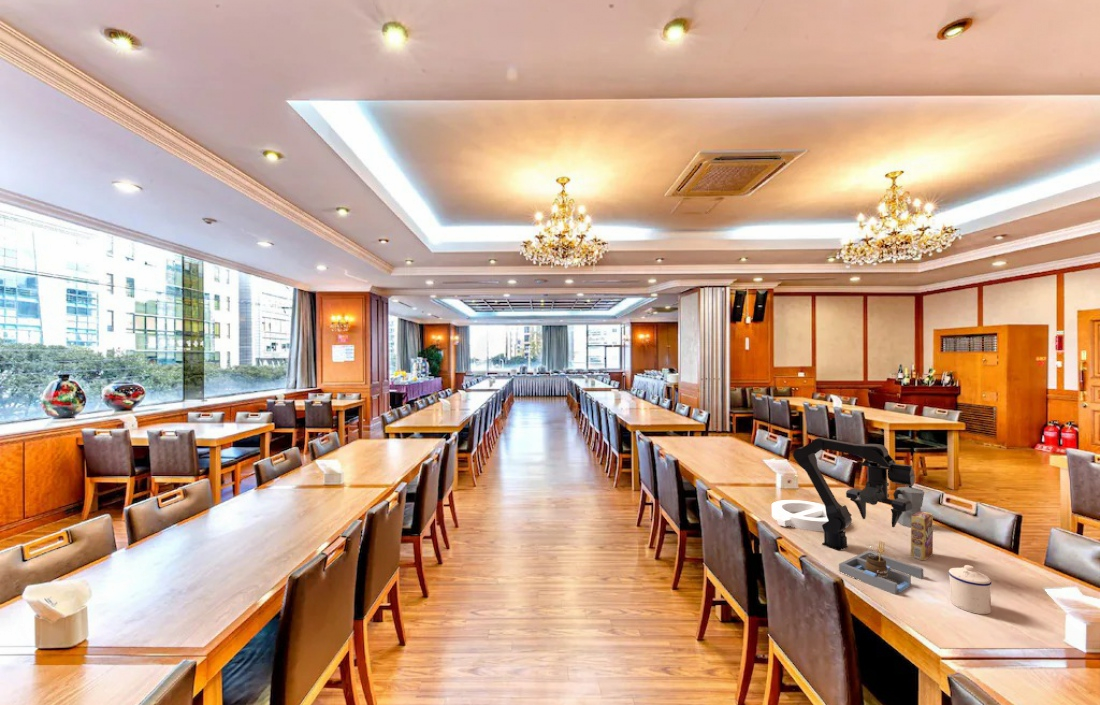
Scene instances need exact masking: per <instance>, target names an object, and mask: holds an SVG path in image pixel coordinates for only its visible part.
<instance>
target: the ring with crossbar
mask: <svg viewBox="0 0 1100 705" xmlns="http://www.w3.org/2000/svg"><path fill="white" fill-rule="evenodd" d="M771 517H772V518H773V519H774V520H775V521H776V520H777V525H779V526H782V527H790V526H791V527H790V528H794V527H795V528H794V529H799V530H804V531H810V532H817V533H821V532H822V533H824V530H823V527H822V525H823V524H825V523H826V522H828V518H827V515H826V509H825V505H824V503H823V504H822V503H819V502H813V501H807V500H798V499H782V500H778V501H774V502H773V503H771Z"/></svg>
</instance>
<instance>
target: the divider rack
mask: <svg viewBox="0 0 1100 705" xmlns="http://www.w3.org/2000/svg"><path fill="white" fill-rule="evenodd" d="M872 551H873V550H870V552H869V550H867V551H864V552H862V553H860V554H857V555H856V556H853V557H850V558H849V559H846V560H845V561H843V562H840V563H838V572H839V571H840V572H842V573H844V574H847V575H849V576H851V577H850V578H852V577H854V578H856V579H855V580H857V579H859V580H861V581H860V582H862V581H863V582H862V583H864V582H865V584H867V583H868V585H870V586H872V587H875V588H877V589H880V590H883V591H886V592H888V593H890V594H893V595H897V594H899V592H900V593H902V592H903V591H904V589H905V590H906V589H908V588H909V587H910V586H911V585H912V583H911V582H912V581H911V579H912V578H911V577H915V578H917V579H920V580H922V579H923V578H924V568H922V567H920V566H916V565H914V564H911V563H908V562H904V561H901V560H898V559H897V558H892V557H889V556H886V555H883V554H881V557H882V558H884V559H885V560H886V566H887V569H888V580H887V579H884V578H882V577H879V576H877V574H876V573H873V572H870V571H868V570H865V563H866V561H867V560H866V558H867V556H868V555H874V553H875V552H876V551H873V552H872ZM868 552H869V553H868ZM879 554H880V553H877V552H876V553H875V556H879ZM844 574H843V575H844ZM908 574H909V575H908ZM911 575H912V576H911ZM849 576H848V577H849ZM854 578H853V579H854ZM859 580H858V581H859ZM892 580H893V581H892Z"/></svg>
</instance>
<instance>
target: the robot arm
mask: <svg viewBox="0 0 1100 705" xmlns="http://www.w3.org/2000/svg"><path fill="white" fill-rule="evenodd" d="M822 449H823V450H828V451H834V452H840V453H843V454H844V453H845V454H848V455H854V456H858V457H859V458H862V459H864V461H863V462H861V463H860V464H859V465H860V466H863V467H867V472H866V473H867V481H866V482H865V487H864V488H863V489H860V488H855V487H853V488H850V489H847V490H846V492H845V497H846V498H847V499H849V500H850V501H852V502H853V503H854V504H855V505H856V507H857V508H858V511H859V513H860V515H861V518H862V520H866V516H867V504H869V505H872V506H875V505H877V504H878V503H882V504H886V505H890V506H891V509H890V511H891V527H892V528H895V527H896V525H897V523H898V519H899V517H900V516H901V514H902V513H903V512H905V511H908V510H911V509H912V503H911V502H910V501H909V500H905V499H900V498H897V499H891V498H890V494H889V493H888V487H889V486H890V483H889V482H888V480H889V481H891V483H893V484H900V485H904V486H905V485H906V486H908V485H910V486H912V487H913V486H914V485H915V480H916V475H915V472H914V469H913V465H910V464H899V463H898V464H897V463H896V460H894V459H893V457H891V455H890V454H889V451H888V448H886V446H885V445H883V444H878V443H854V442H847V441H844V440H843V441H842V440H837V439H836V440H835V439H830V438H825V437H822V436H821V437H817V438H814V440H812V441H811V442H809V443H808V444H806V445H804V446H801V447H798V448H796V449H794V451H793V453H792V456H793V460H795V462H796V463H797V464H798V465H799V466H800V468H801V469H803V470H804V471H805V472H806V474H807V475H808V477H809V479H810V481H811V483H812V486H814V488H815V490H816V492H817V494H818V496H819V498H820V499H821V501H822V503H823V505H825V509H826V515H827V518H828V522H826V523H825V524H823V525H822V527H823V530H824V532H823V533H824V534H823V538H824V541H823V542H821V545H822V546H824V547H825V546H826V547H827V548H831V549H834V550H836V551H842V550H845V549H847V548H848V547H849V545H848V538H847V536H846V531H844V530H846V528H847V527H848V526H850V525H851V524H852V520H853V519H852V516H853V515H852V514H851V512H850V511H849V510H848V507H847V505H845V504H844V505H841V504H840V503H839V502H838V500H837V498H836V497H835V495H834V493H833V492H832V490H831V488H830V486H829V485H828V482H827V481H826V479H825V478H824V476H823V474H822V472H821V470H820V469H819V467H818V459H817V456H816V455H815V454H817V453H818V452H820V451H821V450H822Z"/></svg>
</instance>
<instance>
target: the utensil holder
mask: <svg viewBox="0 0 1100 705" xmlns="http://www.w3.org/2000/svg"><path fill="white" fill-rule="evenodd" d="M871 549H873V550H871ZM877 549H878V551H879V553H878V554H879V556H875V553H877V551H874V550H875V547H872V546H869V549H868V551H869V552H870V551H872V552H875V553H874V555H868V556H867V558H866V560H867V561H866V563H865V570H868V571H870V572H873V573H876V574H877V576H879V577H882V578H884V579H887V580H889V579H888V569H887V566H886V560H885V559H884V558H882V557H881V555H882V553H883V552H885V551H884V550H885V541H881V540H879V542H878V548H877ZM869 552H868V553H869ZM865 570H864V571H865Z"/></svg>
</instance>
